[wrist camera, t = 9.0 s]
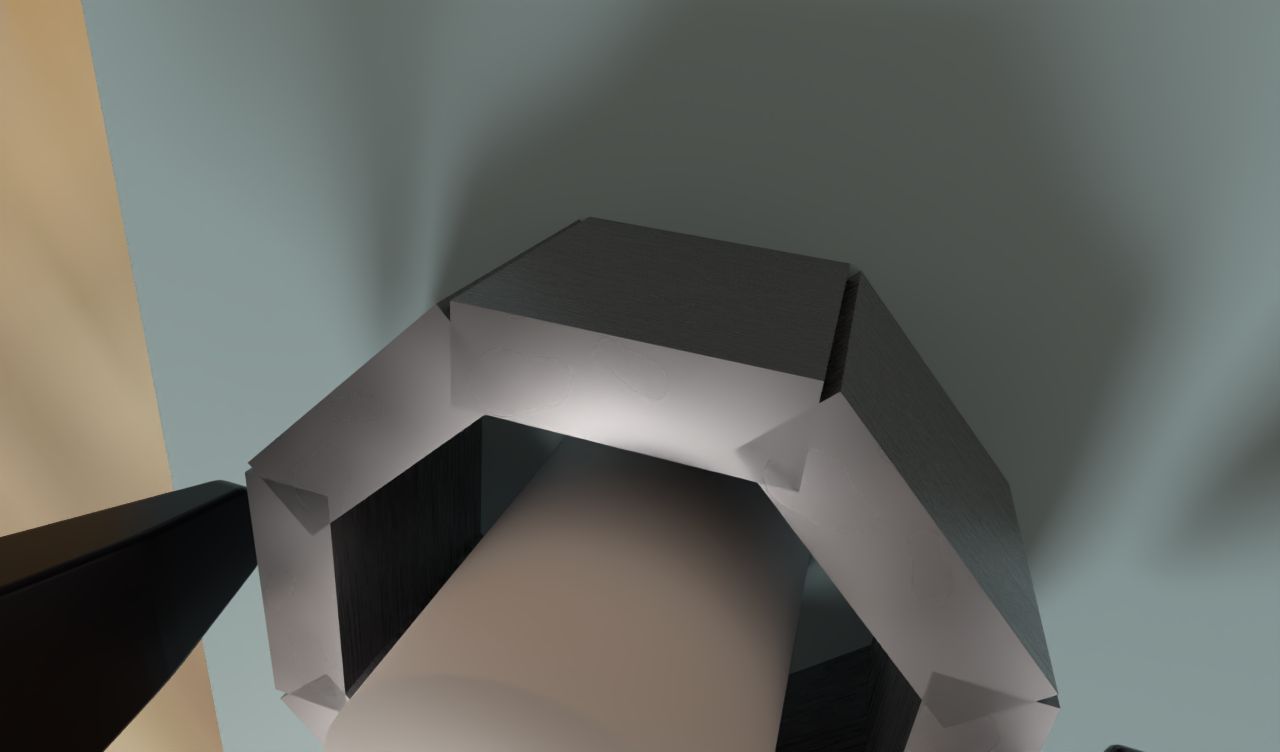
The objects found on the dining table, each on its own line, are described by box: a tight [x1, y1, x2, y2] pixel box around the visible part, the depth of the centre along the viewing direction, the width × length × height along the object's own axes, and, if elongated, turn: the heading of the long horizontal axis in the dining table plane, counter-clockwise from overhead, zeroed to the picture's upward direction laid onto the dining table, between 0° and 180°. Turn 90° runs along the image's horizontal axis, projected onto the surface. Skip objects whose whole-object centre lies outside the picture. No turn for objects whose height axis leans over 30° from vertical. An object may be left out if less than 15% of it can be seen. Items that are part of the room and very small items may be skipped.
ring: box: [245, 217, 1060, 752], centre depth 8 cm, size 7×7×3 cm
